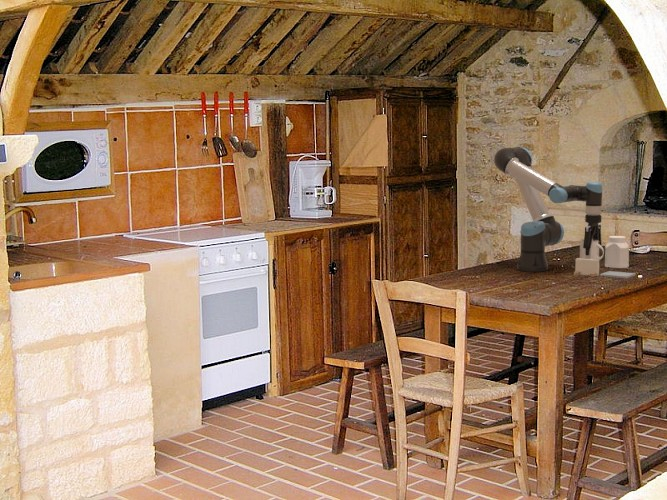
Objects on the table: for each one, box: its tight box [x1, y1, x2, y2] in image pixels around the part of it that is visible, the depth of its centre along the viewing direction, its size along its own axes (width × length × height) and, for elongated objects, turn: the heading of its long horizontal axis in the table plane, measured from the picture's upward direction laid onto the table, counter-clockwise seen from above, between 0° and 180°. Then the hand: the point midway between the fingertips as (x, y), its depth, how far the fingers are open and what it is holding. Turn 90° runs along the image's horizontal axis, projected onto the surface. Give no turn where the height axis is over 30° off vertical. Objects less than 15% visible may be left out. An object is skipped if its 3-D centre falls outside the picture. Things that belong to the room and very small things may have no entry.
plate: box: [599, 270, 637, 280], centre depth 444 cm, size 13×11×1 cm
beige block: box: [573, 257, 600, 278], centre depth 446 cm, size 11×5×8 cm, turn 51°
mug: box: [579, 238, 605, 261], centre depth 458 cm, size 9×12×11 cm
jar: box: [604, 235, 630, 269], centre depth 471 cm, size 12×10×15 cm
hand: (591, 260), depth 459 cm, fingers closed on mug, 9 cm apart
